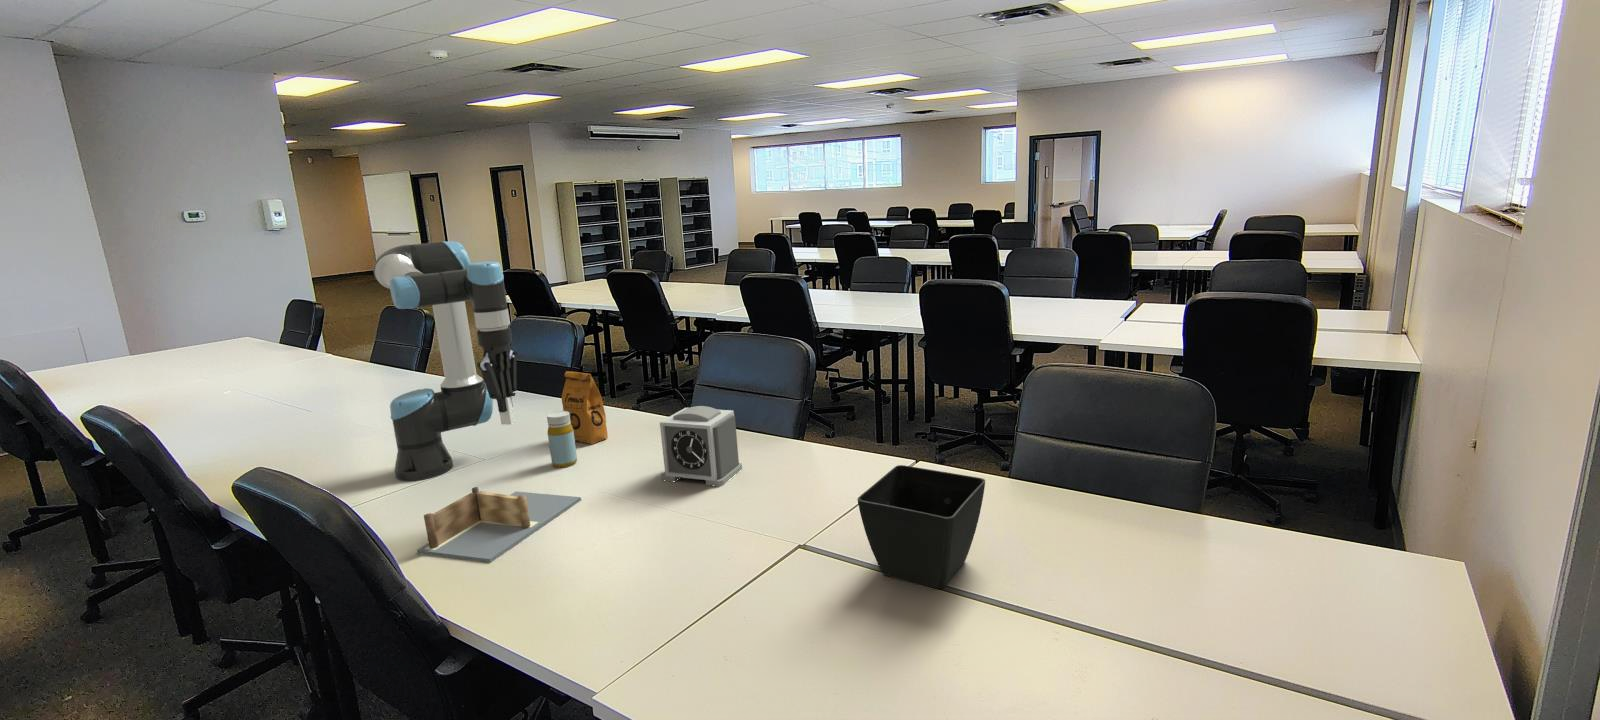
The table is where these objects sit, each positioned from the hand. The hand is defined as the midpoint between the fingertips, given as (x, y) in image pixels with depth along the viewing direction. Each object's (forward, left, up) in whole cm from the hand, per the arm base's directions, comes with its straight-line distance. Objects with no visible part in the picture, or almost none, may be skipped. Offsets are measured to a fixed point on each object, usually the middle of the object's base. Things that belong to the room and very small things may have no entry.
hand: (508, 423), depth 183 cm
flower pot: (+93, +42, -23) cm, 105 cm away
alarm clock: (+17, +43, -23) cm, 51 cm away
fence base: (+4, -16, -22) cm, 27 cm away
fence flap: (+8, -7, -21) cm, 24 cm away
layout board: (+6, -7, -22) cm, 24 cm away
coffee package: (-37, +37, -23) cm, 57 cm away
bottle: (-22, +22, -23) cm, 38 cm away
